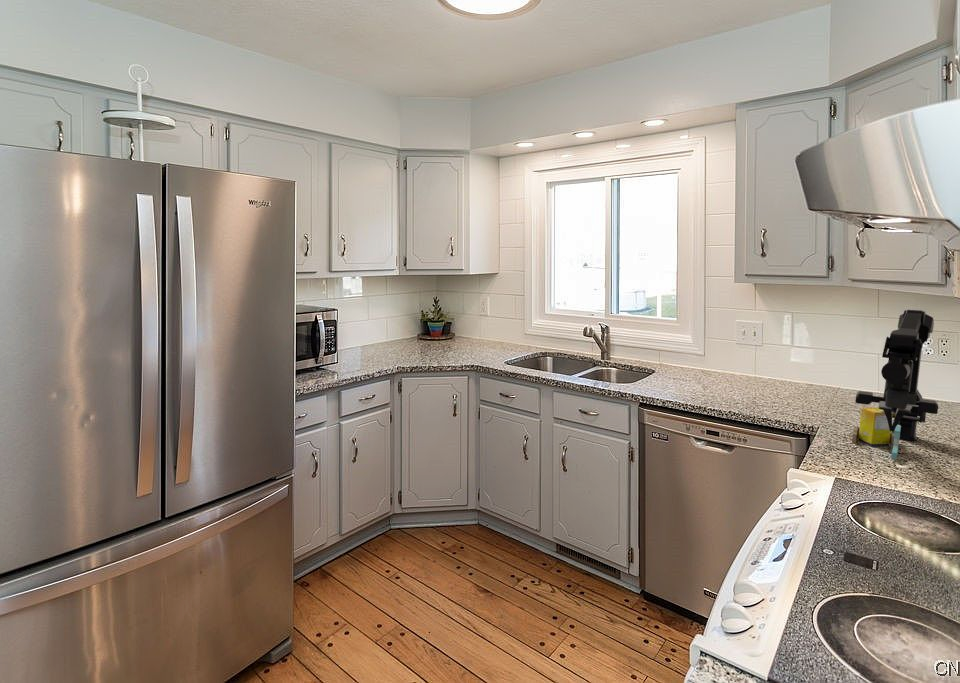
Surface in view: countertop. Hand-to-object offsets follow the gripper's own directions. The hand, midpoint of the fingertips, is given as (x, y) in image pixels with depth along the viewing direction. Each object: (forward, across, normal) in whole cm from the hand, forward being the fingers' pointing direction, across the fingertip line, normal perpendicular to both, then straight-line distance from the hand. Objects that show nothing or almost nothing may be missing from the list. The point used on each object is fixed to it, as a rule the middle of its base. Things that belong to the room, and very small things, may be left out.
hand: (891, 431), depth 162 cm
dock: (+8, -4, +15) cm, 18 cm away
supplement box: (+8, -4, +15) cm, 18 cm away
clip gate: (+8, +2, +4) cm, 9 cm away
